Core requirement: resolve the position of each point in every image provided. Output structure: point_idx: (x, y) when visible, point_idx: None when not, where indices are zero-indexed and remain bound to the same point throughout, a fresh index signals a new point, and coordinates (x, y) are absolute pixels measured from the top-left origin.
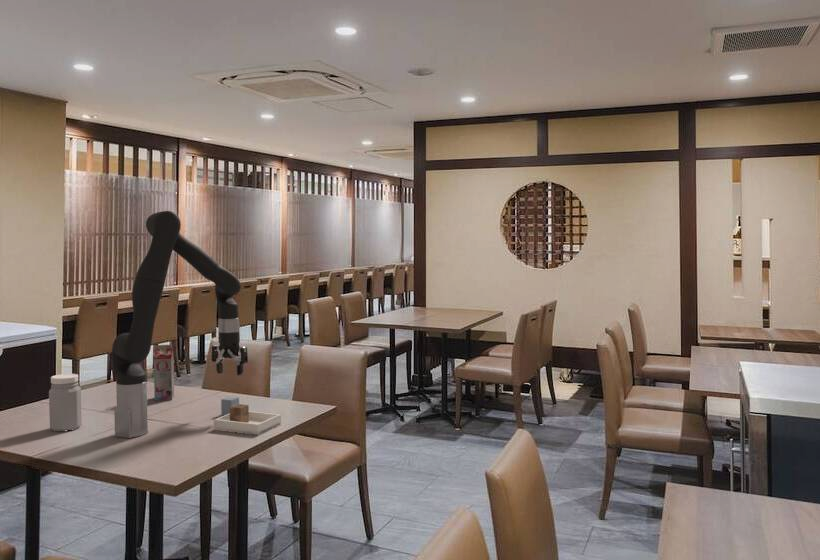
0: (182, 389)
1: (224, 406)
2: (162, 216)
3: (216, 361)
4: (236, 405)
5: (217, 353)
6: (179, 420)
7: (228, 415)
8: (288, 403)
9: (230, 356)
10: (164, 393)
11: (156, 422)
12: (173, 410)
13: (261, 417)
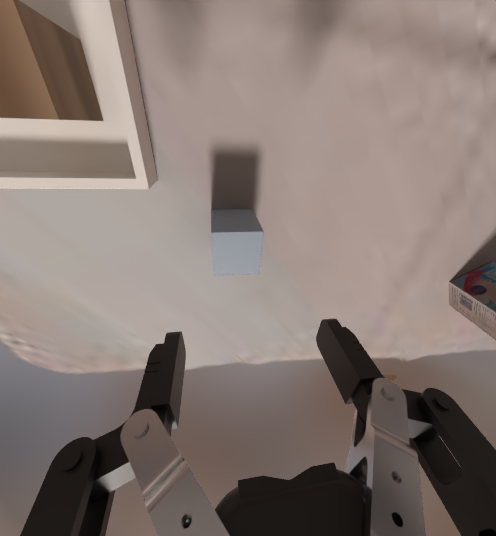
0: (441, 343)
1: (244, 220)
2: None
3: (395, 396)
4: (20, 72)
5: (450, 499)
6: (367, 84)
7: (115, 83)
8: None
9: (253, 512)
10: (486, 284)
11: (455, 8)
12: (424, 203)
13: (17, 173)
